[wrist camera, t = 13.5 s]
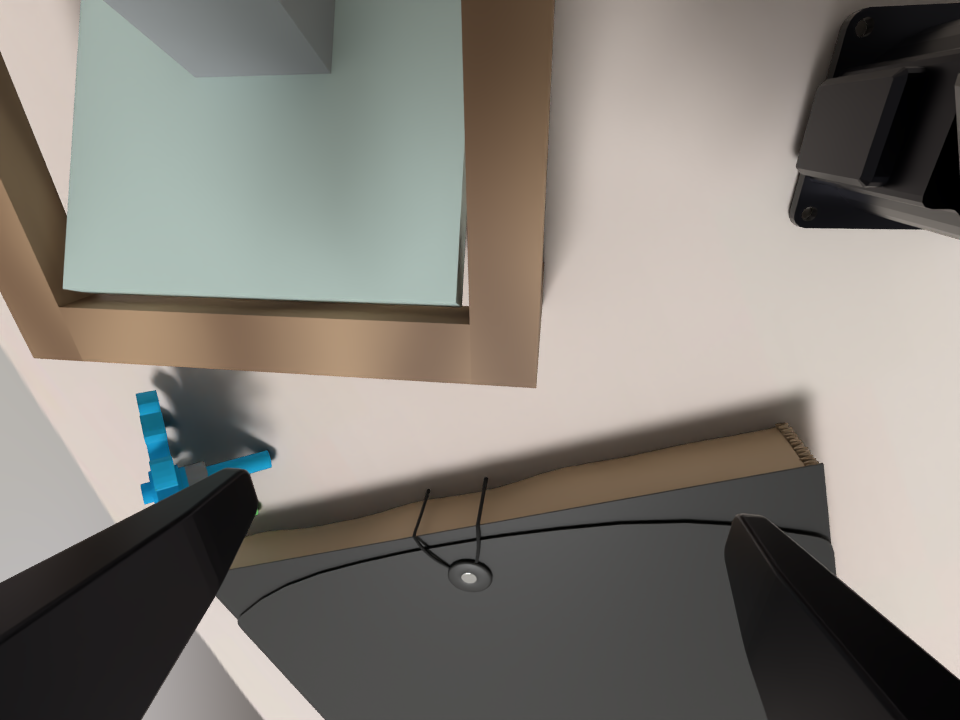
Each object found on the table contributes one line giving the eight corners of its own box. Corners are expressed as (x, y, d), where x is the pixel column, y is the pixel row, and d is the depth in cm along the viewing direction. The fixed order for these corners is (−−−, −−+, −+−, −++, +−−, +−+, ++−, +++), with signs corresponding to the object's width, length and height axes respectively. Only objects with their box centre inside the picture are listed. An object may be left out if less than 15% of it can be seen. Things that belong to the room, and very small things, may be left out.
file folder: (828, 466, 18) (858, 777, 27) (782, 407, 21) (822, 700, 31) (190, 579, 27) (376, 781, 37) (232, 525, 31) (391, 721, 40)
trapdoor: (461, 307, 14) (455, 302, 13) (91, 293, 16) (62, 288, 15) (484, -109, 14) (480, -144, 13) (115, -78, 16) (87, -108, 15)
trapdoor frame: (572, -329, 12) (589, -786, 6) (541, 307, 20) (536, 387, 14) (-2, -246, 15) (-405, -512, 8) (175, 294, 23) (33, 358, 17)
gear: (112, 354, 23) (138, 520, 17) (243, 337, 26) (300, 470, 21) (147, 488, 29) (175, 640, 24) (249, 461, 33) (294, 588, 27)
